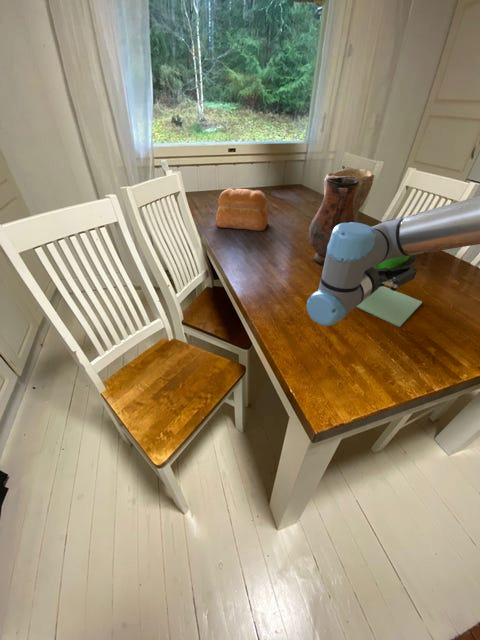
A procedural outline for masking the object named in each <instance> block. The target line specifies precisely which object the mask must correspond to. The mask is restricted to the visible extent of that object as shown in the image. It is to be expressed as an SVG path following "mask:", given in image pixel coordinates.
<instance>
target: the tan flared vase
mask: <svg viewBox="0 0 480 640" xmlns="http://www.w3.org/2000/svg"><path fill="white" fill-rule="evenodd" d="M337 177H345V178H348V179H354V180H358V181H359V184H357V187H356V191H355V195H354V200H353V216H354V218H355V217H356V216H357V213H358V212H359V210H360V209H361V208H362V207H363V206H364V204H365V202H366V200H367V198H368V196H369V194H370V192H371V188H372V187H373V184H374V181H375V174H373V172H372V171H370V170H368V169H363V168H360V169H359V168H352V167H351V168H350V167H349V168H344V169H340V170H337V171H334V172H331V173H327V174H326V176H325V178H324V180H323V195H324V196H325V191H326V186H327V181H326V180H327V179H328V178H337Z"/></svg>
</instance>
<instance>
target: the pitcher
mask: <svg viewBox="0 0 480 640" xmlns="http://www.w3.org/2000/svg"><path fill="white" fill-rule="evenodd" d="M326 181H327V186H326V191H325V196H324V197H323V199H322V203H321V205H320V206H319V208H318V210H317V212H316V214H315V215H314V217H313V218H312V219H311V223H310V225H309V228H308V241H309V242H310V245H311V248H313V250H314V251H315V252H316V253H314V254H313V256H312V259H313V261H314V262H315V263H317V264H319V265H322V266H324V262H325V258H326V253H327V247H328V243H329V241H330V238H331V234H332V231H333V229H334V228H335V227H336V226H337V225H339V224H341V223H350V222H355V217H354V216H353V200H354V195H355V191H356V187H357V184H359V181H358V180H354V179H348V178H345V177H337V178H328V179H327V180H326Z"/></svg>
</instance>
